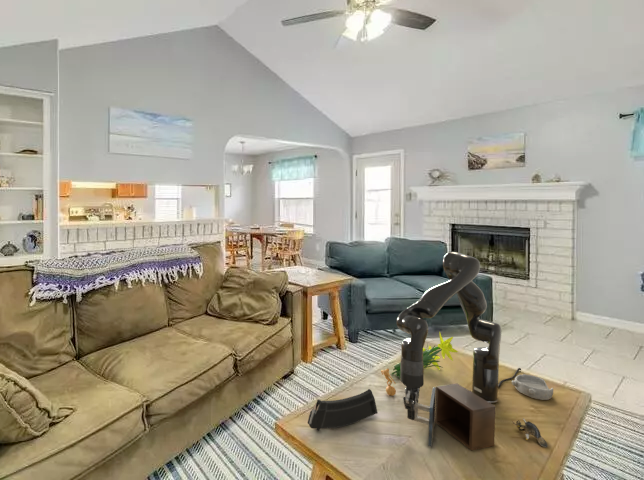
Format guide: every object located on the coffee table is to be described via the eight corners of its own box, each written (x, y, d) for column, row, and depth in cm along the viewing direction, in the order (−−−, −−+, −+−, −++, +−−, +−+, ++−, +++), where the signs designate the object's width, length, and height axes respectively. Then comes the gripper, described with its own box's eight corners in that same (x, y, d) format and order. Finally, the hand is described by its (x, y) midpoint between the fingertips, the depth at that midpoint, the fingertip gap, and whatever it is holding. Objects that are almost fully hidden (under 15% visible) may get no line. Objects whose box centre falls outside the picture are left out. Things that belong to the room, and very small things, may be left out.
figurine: (401, 399, 158) (402, 371, 158) (389, 401, 156) (390, 373, 156) (388, 389, 166) (388, 363, 166) (376, 391, 164) (377, 364, 164)
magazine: (377, 388, 149) (317, 380, 138) (383, 392, 146) (323, 384, 135) (366, 431, 148) (305, 427, 137) (372, 436, 145) (310, 432, 134)
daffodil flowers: (380, 369, 187) (432, 342, 198) (402, 396, 176) (455, 366, 187) (388, 350, 177) (442, 323, 188) (412, 378, 166) (467, 347, 177)
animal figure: (510, 433, 135) (539, 443, 127) (512, 412, 138) (541, 421, 130) (521, 440, 138) (550, 450, 130) (523, 419, 140) (552, 428, 133)
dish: (535, 384, 172) (535, 373, 172) (562, 401, 159) (563, 389, 158) (504, 384, 172) (505, 373, 172) (529, 401, 158) (530, 389, 158)
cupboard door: (411, 440, 132) (413, 402, 132) (416, 417, 146) (417, 382, 145) (431, 446, 129) (432, 408, 128) (434, 422, 142) (435, 387, 142)
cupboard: (471, 450, 127) (472, 410, 127) (434, 422, 143) (435, 386, 142) (494, 445, 130) (495, 406, 130) (455, 418, 146) (457, 383, 145)
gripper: (418, 380, 126) (418, 431, 126) (427, 366, 137) (427, 412, 137) (395, 374, 131) (395, 422, 131) (406, 360, 141) (405, 405, 142)
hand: (411, 417), depth 134 cm, fingers closed
